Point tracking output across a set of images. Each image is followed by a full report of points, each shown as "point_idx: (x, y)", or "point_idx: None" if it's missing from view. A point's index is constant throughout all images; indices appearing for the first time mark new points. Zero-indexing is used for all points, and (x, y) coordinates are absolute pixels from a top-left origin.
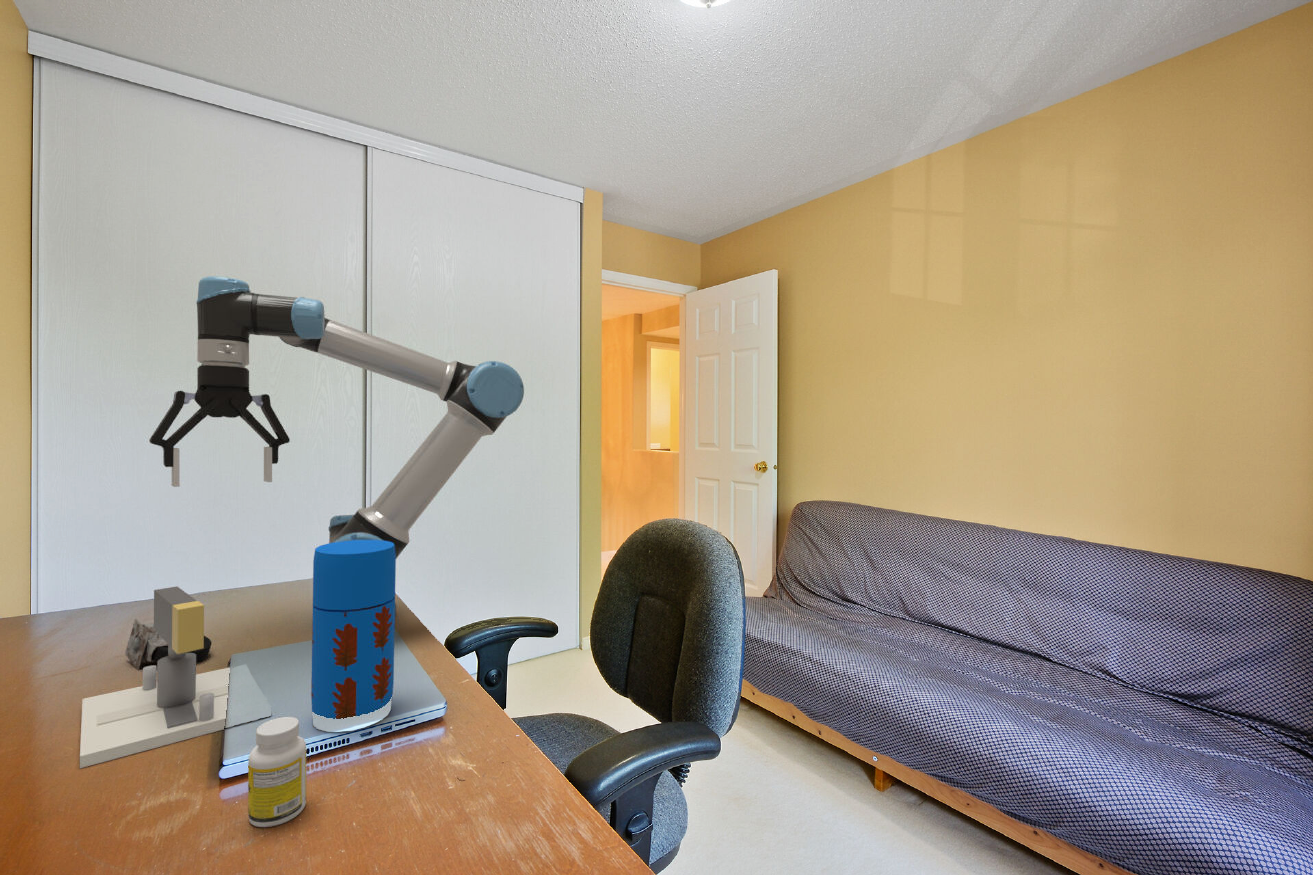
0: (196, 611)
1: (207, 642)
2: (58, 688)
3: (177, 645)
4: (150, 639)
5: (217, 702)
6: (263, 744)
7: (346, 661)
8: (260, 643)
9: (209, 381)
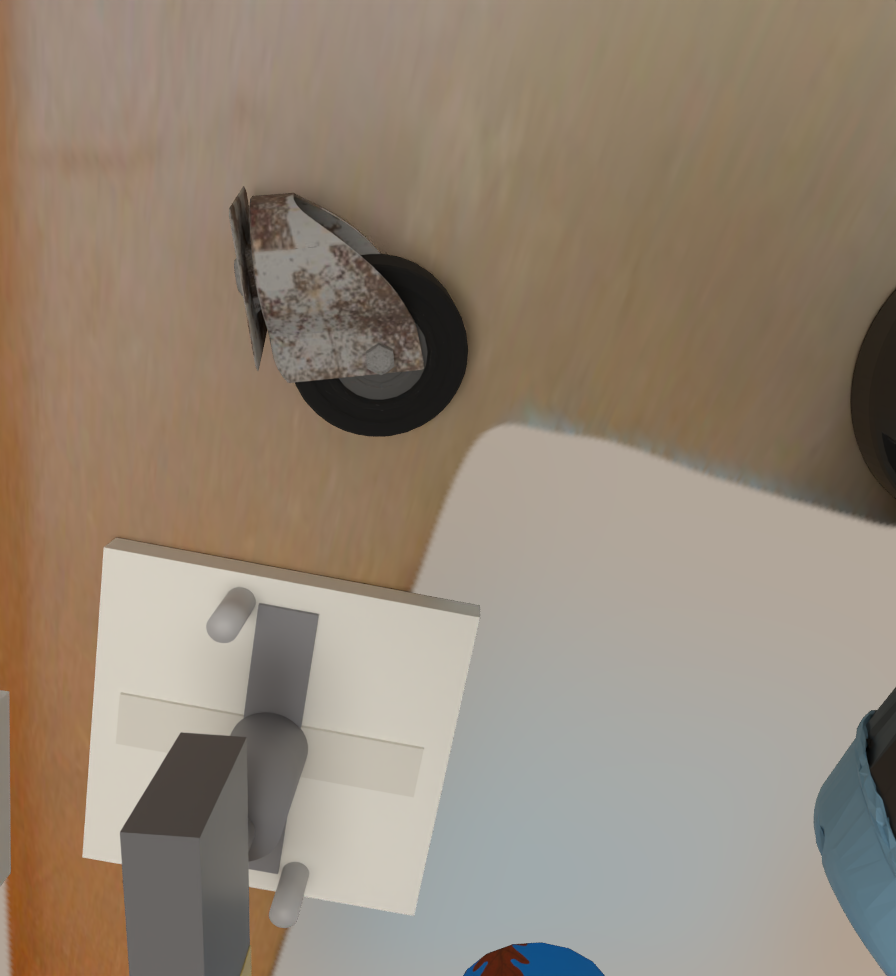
0: None
1: (450, 376)
2: (75, 316)
3: None
4: (277, 332)
5: (337, 811)
6: None
7: None
8: (622, 371)
9: None
